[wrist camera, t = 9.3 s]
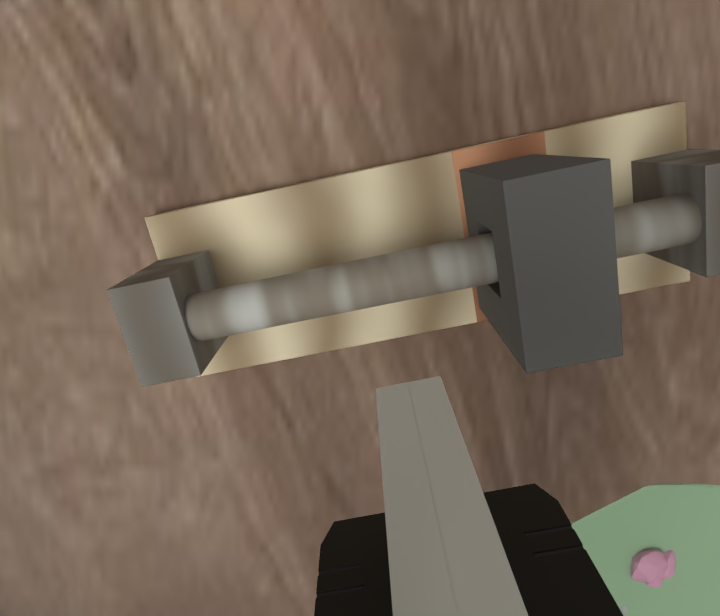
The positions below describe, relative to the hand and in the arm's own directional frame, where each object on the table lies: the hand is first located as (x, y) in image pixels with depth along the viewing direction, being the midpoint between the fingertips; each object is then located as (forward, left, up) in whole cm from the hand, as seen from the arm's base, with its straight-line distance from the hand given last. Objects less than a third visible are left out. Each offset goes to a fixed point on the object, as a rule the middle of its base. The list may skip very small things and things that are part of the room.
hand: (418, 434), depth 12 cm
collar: (+7, 0, -19) cm, 20 cm away
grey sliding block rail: (+2, 0, -21) cm, 21 cm away
